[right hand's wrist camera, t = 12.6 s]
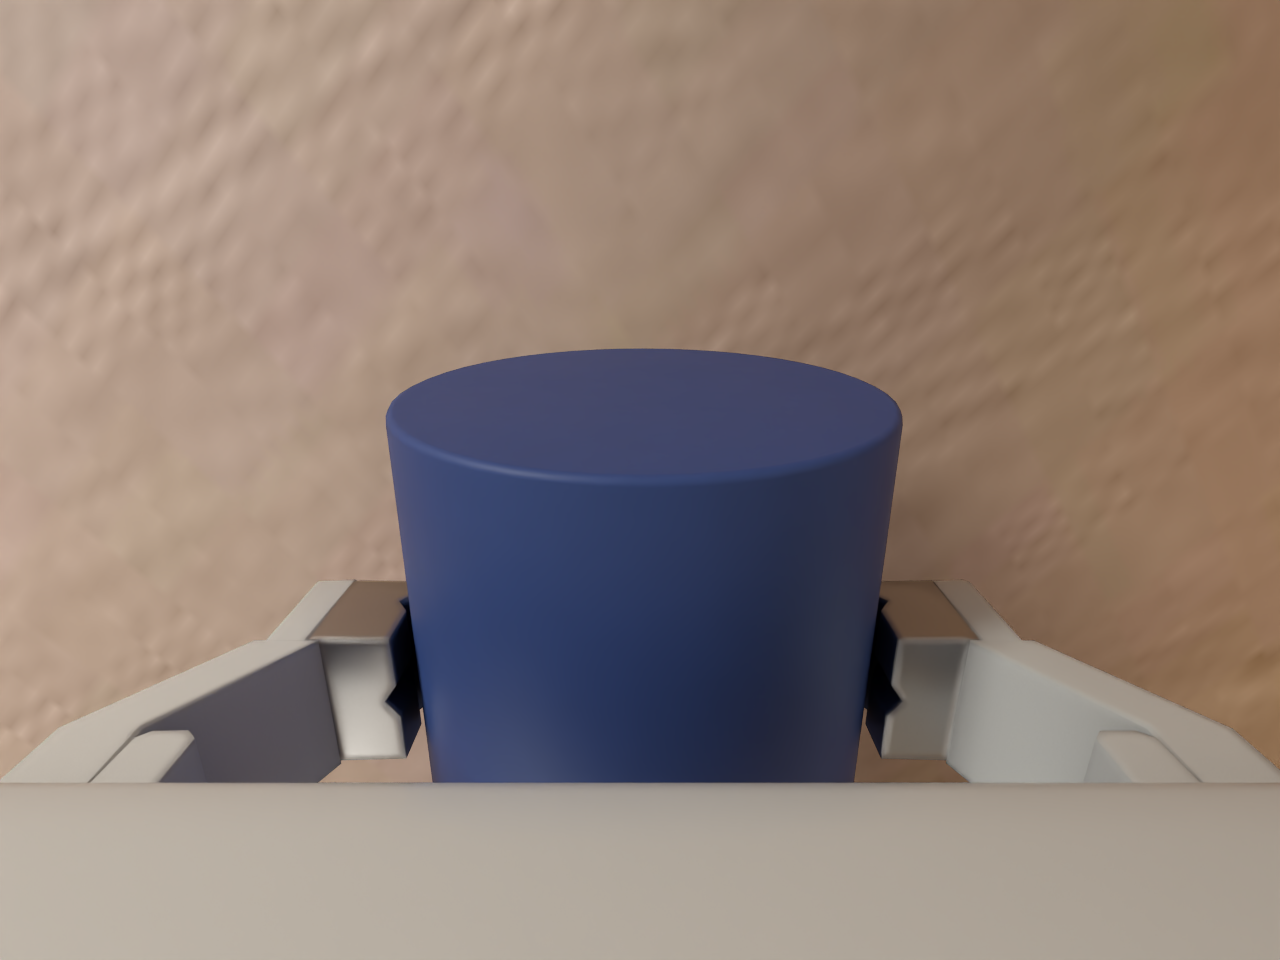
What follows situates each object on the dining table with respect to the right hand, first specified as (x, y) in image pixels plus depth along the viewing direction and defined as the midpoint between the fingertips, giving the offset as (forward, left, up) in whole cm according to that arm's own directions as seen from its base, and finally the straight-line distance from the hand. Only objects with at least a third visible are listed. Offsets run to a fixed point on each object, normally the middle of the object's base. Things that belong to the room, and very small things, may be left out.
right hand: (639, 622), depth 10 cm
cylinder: (+7, +5, -3) cm, 9 cm away
